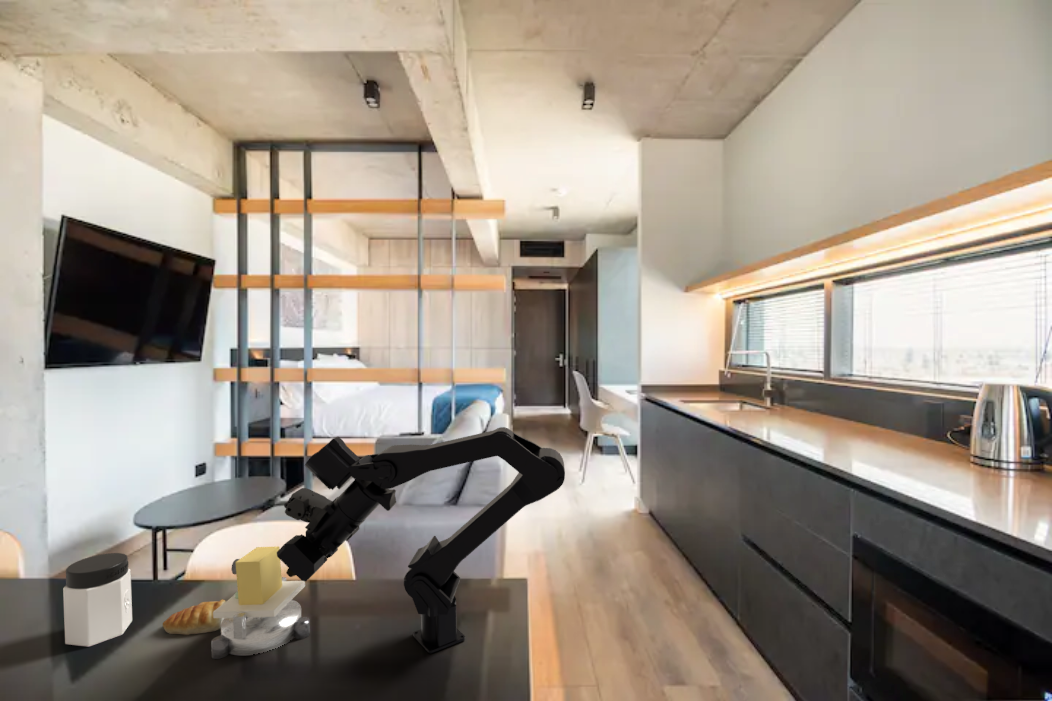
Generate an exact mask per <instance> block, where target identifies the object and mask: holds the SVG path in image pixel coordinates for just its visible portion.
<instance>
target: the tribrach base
mask: <svg viewBox="0 0 1052 701" xmlns="http://www.w3.org/2000/svg"><path fill="white" fill-rule="evenodd" d="M282 581H287V577H285V576H282ZM310 623H311V622H310V617H307V616H302V606H301V604H300V603H299V602H298V601H296V600H294V599H292V600H291V601H290V602H289V603H288V604H287V605H286V606H285V607H284V608H283V609H282V610H281V611H280V612H279V613H278V614H277V615H276V616H275V617H249V618H247V619H246V613H237V614H235V615H234V616H233V618H224V619H223V621H222V623H221V627H220V635H218V636H216V637H213V638H212V639H211V642H210V643H211V644H210V646H211V650H210V651H211V658H212V659H213V660H221V659H223V658H225V657H227V656H228V655H229V654H230V655H234V656H246V657H247V656H254V655H253V654H255V655H259V654H258V653H260V654H264V653H267V651H268V652H270V651H269V650H271V651H273V650H272V649H274V650H276V649H278V647H279V648H281V647H283V646H285V645H286V644H288V643H289V642H291V641H293V639H295V640H302V639H305V638H308V637H309V636H310V634H311V628H310V625H311V624H310ZM294 637H295V638H294ZM290 640H291V641H290ZM284 644H285V645H284ZM282 645H283V646H282ZM280 646H281V647H280ZM275 648H276V649H275ZM263 652H264V653H263Z"/></svg>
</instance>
